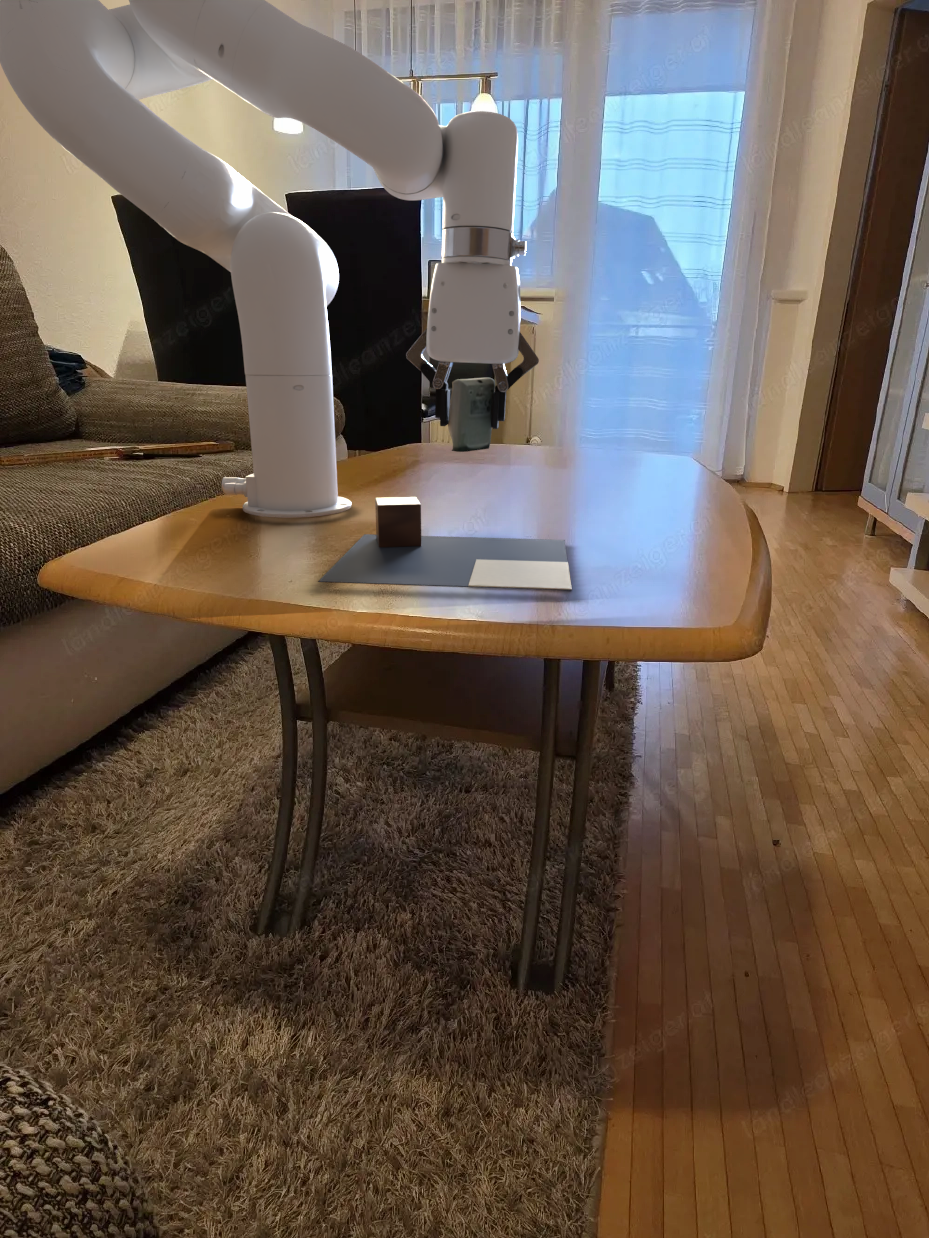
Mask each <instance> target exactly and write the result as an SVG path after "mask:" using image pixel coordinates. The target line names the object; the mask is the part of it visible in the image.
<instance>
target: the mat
mask: <svg viewBox="0 0 929 1238" xmlns="http://www.w3.org/2000/svg"><path fill="white" fill-rule="evenodd" d="M317 582H318V583H335V584H336V583H338V584H339V583H341V584H366V585H367V584H368V585H369V584H370V585H371V584H372V585H394V586H395V585H398V586H399V585H401V586H424V587H425V586H426V587H427V586H429V587H430V586H431V587H457V588H458V587H459V588H485V589H486V588H488V589H489V588H490V589H515V590H517V589H518V590H544V591H545V590H546V591H547V590H549V591H550V590H551V591H572V590H573V588H572V587H573V586H572V580H571V573H570V566H569V560H568V553H567V547H566V541H565V539H548V538H516V537H515V538H514V537H512V538H511V537H476V536H445V535H444V536H442V535H441V536H440V535H439V536H438V535H421V546H410V547H379V545H378V542H377V538H376V534H374V533H373V534H372V533H371V534H370V533H364V534H363V535H362V536H361V537H360V538H359V539H358V540H357V541H356V542H355V543H354V544H353V545H352V546H351V547H350V548H349V549H348V550H347V551H346V553H344V555H342V556H341V557H340V558H339V560H338V561H336V562H335V563H334V564H333V566H331V568H329V570H327V571H326V573H325V574H324V575H322V577H321V578H319V580H318V581H317Z"/></svg>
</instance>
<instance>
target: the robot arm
mask: <svg viewBox="0 0 929 1238" xmlns="http://www.w3.org/2000/svg"><path fill="white" fill-rule="evenodd" d="M128 2H129V4H126V5H122V6H117V7H114V8H109V9H108V7H106V6H105V5H104V4H103V3H102V2H101V1H100V0H0V66H1V68H2V70H3V73H4V76H5V77H6V79H7V81H8V83H9V85H10V86H11V88H12V90H13V92H14V93H15V94H16V96H17V98H18V99H19V100H20V102H21V103H22V105H23V106H24V107H25V109H26V110H27V112H28V113H29V114H30V115H31V116H32V117H33V119H34V120H35V121H36V122H37V124H38V125H40V126H41V127H42V129H43V130H44V131H45V132H46V133H47V134H48V135H49V136H50V137H51V138H52V139H54V141H55V142H56V143H58V144H59V145H60V146H61V147H62V148H63V149H64V150H65V151H67V152H68V153H69V154H70V155H71V156H73V157H74V158H75V159H76V160H77V161H79V162H80V163H81V164H83V165H84V166H85V167H86V168H88V169H89V170H90V171H91V172H93V173H94V174H95V175H97V176H98V177H99V178H100V179H101V180H103V181H104V182H105V183H106V184H107V185H109V186H110V187H111V188H113V189H114V191H116V192H117V193H119V194H120V195H122V196H123V197H124V198H125V199H127V200H128V201H129V202H130V203H132V204H133V205H134V206H136V207H137V208H138V209H139V210H141V211H142V212H143V213H145V214H146V215H147V216H149V217H150V219H152V220H154V222H156V223H157V224H158V225H159V226H160V227H161V228H163V229H164V230H165V231H166V232H167V233H168V234H169V235H171V236H172V237H173V238H174V239H176V240H177V241H178V242H180V243H182V244H183V245H186V246H187V247H190V248H191V249H195V250H197V251H199V252H201V253H203V254H205V255H206V256H208V257H209V258H211V259H212V260H213V261H215V262H216V263H217V264H219V265H220V266H222V267H223V268H224V269H225V270H227V271H228V272H230V276H231V285H232V290H233V291H232V292H233V296H234V300H235V301H234V302H235V306H236V311H237V316H238V317H237V318H238V323H239V330H240V338H241V345H242V357H243V368H244V375H245V386H246V396H247V397H246V398H247V408H248V409H247V411H248V421H249V422H248V423H249V435H250V446H251V458H252V459H251V460H252V470H253V473H250V474H248V475H246V476H245V478H241V477H234V476H233V477H232V476H231V477H230V476H229V477H228V476H224V477H223V478H222V479H221V490H222V491H223V493H224V494H225V495H226V496H238V495H241V496H242V495H243V497H245V498H246V499H247V501H246V502H244V503H243V504H242V511H243V512H244V513H247V514H249V515H252V516H258V517H265V518H281V519H282V518H293V519H295V518H311V517H312V518H313V517H321V516H329V515H334V514H335V515H336V514H339V513H343V512H345V511H348V510H350V509H351V508H352V501H351V500H350V499H348V498H347V497H343V496H339V490H338V487H339V486H338V469H337V448H336V447H337V446H336V427H335V405H334V385H333V383H334V382H333V370H332V351H331V340H330V326H329V320H328V309H327V307H328V306H329V305H330V304H331V302H332V301H333V299H334V298H335V295H336V293H337V291H338V287H339V283H340V282H339V281H340V273H339V266H338V262H337V258H336V256H335V254H334V252H333V250H332V249H331V247H330V246H329V245H328V243H327V242H326V241H325V240H324V239H323V238H322V237H321V236H320V235H319V234H318V233H317V232H316V231H315V230H314V229H312V228H311V227H310V226H309V225H308V224H306V223H305V222H303V220H301V219H299V218H297V217H295V216H293V215H292V214H291V213H289V212H288V211H287V210H285V208H283V207H282V206H280V205H279V204H278V203H276V202H275V201H274V200H273V199H271V198H270V197H269V196H268V195H267V194H265V193H264V192H263V191H261V190H260V189H259V188H258V187H257V186H255V185H254V184H252V183H251V182H250V181H249V180H248V179H246V178H245V177H244V176H243V175H241V174H240V173H239V172H237V170H236V169H234V168H233V167H232V166H231V165H229V164H228V163H227V162H226V161H224V160H223V159H222V158H220V157H218V156H217V155H215V154H213V153H212V152H210V151H207V150H206V149H204V148H202V147H201V146H199V145H198V144H196V143H195V142H193V141H192V140H190V139H189V138H187V137H186V136H185V135H183V134H182V133H181V132H179V131H178V130H176V128H174V127H173V126H171V125H170V124H169V123H167V122H166V121H165V120H164V119H162V118H161V117H160V116H158V115H157V114H156V113H155V112H154V111H153V110H152V109H150V108H149V107H148V106H147V105H146V104H145V103H143V102H142V101H141V100H143V99H148V98H151V97H155V96H159V95H163V94H168V93H171V92H175V91H179V90H183V89H186V88H190V87H194V86H197V85H201V84H203V83H206V82H209V81H212V80H213V81H215V82H216V83H218V84H220V85H221V86H222V87H224V88H225V89H227V90H229V92H231V93H233V94H234V95H236V96H238V97H239V98H240V99H242V100H243V101H245V102H246V103H248V104H249V105H251V106H252V107H254V108H256V110H258V111H260V112H261V113H263V114H265V115H267V116H269V117H272V118H275V119H284V118H285V119H291V120H294V121H298V122H300V123H303V124H304V125H307V126H308V127H310V128H312V129H314V130H315V131H317V132H319V133H320V134H322V135H324V136H325V137H327V138H328V139H330V140H332V141H333V142H335V143H336V144H338V145H339V146H341V147H342V148H343V149H345V150H347V151H348V152H350V153H351V154H353V155H354V156H355V157H357V158H359V160H362V161H363V162H365V163H366V164H367V165H369V166H370V167H371V168H372V169H373V172H374V173H375V175H376V178H377V180H378V182H379V183H380V185H381V186H382V187H383V189H384V190H385V191H386V192H387V193H388V194H390V195H391V196H392V197H395V198H397V199H398V200H399V199H400V200H402V201H403V200H404V201H423V200H429V199H430V200H431V199H438V198H439V199H440V198H442V230H441V231H442V233H441V262H437V263H435V265H434V269H433V275H432V280H431V286H430V291H429V292H430V293H429V302H428V311H427V324H426V329H425V330H424V331H423V332H422V333H421V335H420V336H419V337H418V338H417V339H416V341H415V342H414V343H413V344H412V345H411V347H410V348H409V349H408V351H407V352H406V353H405V357H406V359H407V360H408V361H409V362H410V363H411V365H413V366H414V367H416V369H418V370H419V371H420V372H421V374H422V375H423V376H424V377H425V378H426V379H427V380H428V382H429V383H430V384H431V385H432V387H433V388H434V389H435V396H434V397H435V400H434V401H435V403H434V405H435V406H434V417H435V419H439V426H440V427H446V426H448V420H449V407H450V400H451V389H450V388H449V382H448V379H449V376H450V373H451V370H452V368H453V365H454V363H467V364H468V363H469V364H491V366H492V370H493V374H494V379H495V382H496V383H495V391H494V392H493V397H492V417H491V428H492V430H497V429H499V425H500V424H499V423H500V422H505V419H506V404H507V403H506V401H507V391H508V390H509V389H510V388H512V386H514V384H516V382H518V381H519V380H520V379H521V378H522V377H523V376H524V375H526V374H527V373H529V372H530V371H531V370H533V368H535V367H536V366H537V365H538V364H539V363H540V358H539V357H538V355H537V354H536V353H535V351H534V350H533V348H532V346H531V345H530V344H529V342H528V341H527V339H526V338H525V337H524V336H523V334H522V332H521V280H520V274H519V268H518V266H515V265H512V263H513V259H516V257H519V256H526V253H527V252H526V251H527V241H525V240H520V239H516V236H514V223H515V205H516V187H517V186H516V185H517V170H518V169H517V167H518V153H519V131H518V128H517V126H516V124H515V122H514V121H513V119H511V118H510V117H508V116H506V115H505V114H504V115H503V114H501V113H499V112H493V111H487V110H486V111H485V110H474V111H466V112H462V113H459V114H457V115H455V116H454V117H452V118H451V119H450V120H449V122H448V123H447V125H440V123H439V120H438V117H437V115H436V113H435V112H434V110H433V108H432V107H431V106H430V104H429V102H427V101H426V100H425V99H424V98H423V97H422V95H420V94H419V93H418V92H417V91H415V89H413V88H411V87H410V86H409V85H407V84H406V83H404V82H403V81H402V80H400V79H399V78H397V77H396V76H394V75H393V74H392V73H390V72H389V71H387V70H386V69H384V68H383V67H381V65H379V64H377V63H376V62H374V61H372V60H371V59H370V58H368V57H367V56H365V55H364V54H362V53H360V52H359V51H357V50H356V49H354V48H352V47H351V46H348V45H347V44H346V43H343V42H341V41H340V40H337V39H335V38H333V37H330V36H327V35H326V34H324V33H322V32H319V31H318V30H316V29H314V28H311V27H308V26H306V25H303V24H302V23H300V22H298V21H297V20H296V19H294V18H292V17H291V16H289V14H287V13H285V12H283V11H282V10H280V9H279V8H278V7H276V6H274V5H273V4H272V3H270V2H268V1H266V0H128ZM425 351H426V353H427V356H429V357H430V358H431V359H433V360H434V361H438V363H437V367H436V368H435V367H434V366H433V365H432V364H431V363H430V362H428V361H427V359H426V358H425V357H424V352H425ZM519 353H520V354H521V356H522V357H523V360H522V361H521V362H520V363H519V364H517V366H515V367H514V368H513V369H512V370H511V371H510V372H509V373H508V372H507V370H506V365H505V364H509V363H512V362H514V361H515V360H516V359H517V358H518V357H519Z"/></svg>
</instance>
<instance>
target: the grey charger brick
mask: <svg viewBox="0 0 929 1238" xmlns="http://www.w3.org/2000/svg"><path fill="white" fill-rule="evenodd" d="M495 382H496V380H494V379H493V378H491V377H474V378H460V379H459V378H457V379H455V380H453V381H452V382H451V384H452V388H451V393H450V407H449V420H448V425H447V427H448V429H447V430H448V434H449V436H450V438H451V442H452V449H451V451H452V452H456V453H467V452H475V451H482V450H489V449H490V446H491V440H492V430H493V428H491V417H492V397H493V392H495V386H496V383H495Z"/></svg>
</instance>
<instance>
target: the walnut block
mask: <svg viewBox="0 0 929 1238" xmlns="http://www.w3.org/2000/svg"><path fill="white" fill-rule="evenodd" d="M374 503H375V504H374V507H375V535H376V538H377V542H378V545H379V547H410V546H421V536H422V504H421V503H420V501H419V499H418V497H417V496H388V497H387V496H386V497H384V496H383V497H375V498H374Z"/></svg>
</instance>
